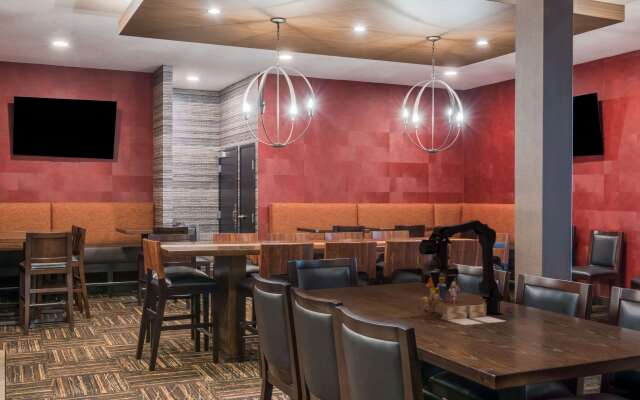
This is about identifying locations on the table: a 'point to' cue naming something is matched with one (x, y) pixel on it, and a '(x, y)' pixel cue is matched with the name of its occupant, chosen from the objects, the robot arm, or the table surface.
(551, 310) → the table surface
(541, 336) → the table surface
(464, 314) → the brown tall flat block
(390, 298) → the table surface
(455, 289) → the doll family
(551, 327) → the table surface
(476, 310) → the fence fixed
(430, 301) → the lion figurine
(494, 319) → the board
